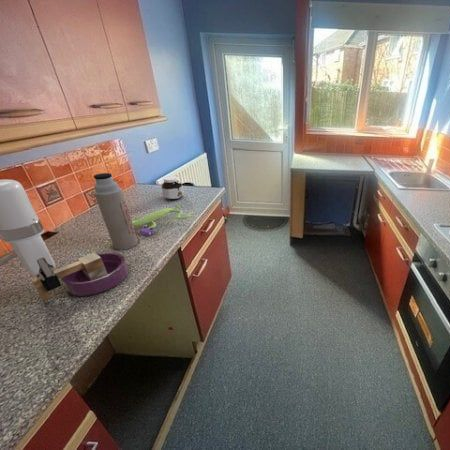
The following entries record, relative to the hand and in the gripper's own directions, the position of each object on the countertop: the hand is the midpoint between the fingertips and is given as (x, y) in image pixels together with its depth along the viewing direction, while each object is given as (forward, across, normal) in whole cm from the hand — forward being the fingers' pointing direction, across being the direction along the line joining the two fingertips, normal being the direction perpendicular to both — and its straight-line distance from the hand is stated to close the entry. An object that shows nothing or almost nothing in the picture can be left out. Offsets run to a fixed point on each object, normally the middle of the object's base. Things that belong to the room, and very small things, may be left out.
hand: (52, 285), depth 70 cm
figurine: (+4, -19, +44) cm, 48 cm away
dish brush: (+3, 0, +5) cm, 6 cm away
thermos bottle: (+4, -14, +25) cm, 29 cm away
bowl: (+4, +1, +10) cm, 11 cm away
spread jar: (+4, -44, +65) cm, 78 cm away
